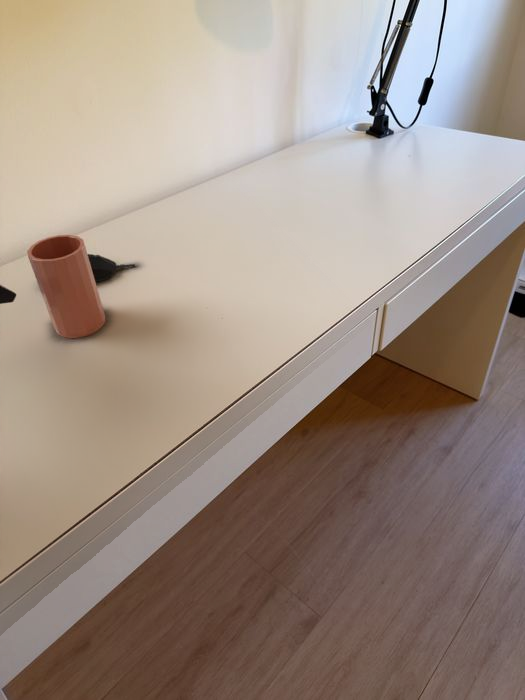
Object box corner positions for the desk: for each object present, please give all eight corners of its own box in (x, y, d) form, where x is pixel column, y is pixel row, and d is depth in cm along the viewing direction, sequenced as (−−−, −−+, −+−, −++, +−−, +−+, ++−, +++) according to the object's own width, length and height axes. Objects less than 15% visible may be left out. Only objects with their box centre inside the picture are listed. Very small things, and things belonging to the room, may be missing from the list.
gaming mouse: (138, 275, 84) (133, 253, 82) (42, 295, 81) (34, 272, 79) (132, 257, 89) (127, 235, 87) (41, 275, 86) (33, 253, 83)
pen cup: (57, 343, 71) (28, 265, 64) (53, 316, 76) (26, 241, 69) (109, 330, 73) (87, 253, 66) (101, 304, 78) (80, 230, 71)
